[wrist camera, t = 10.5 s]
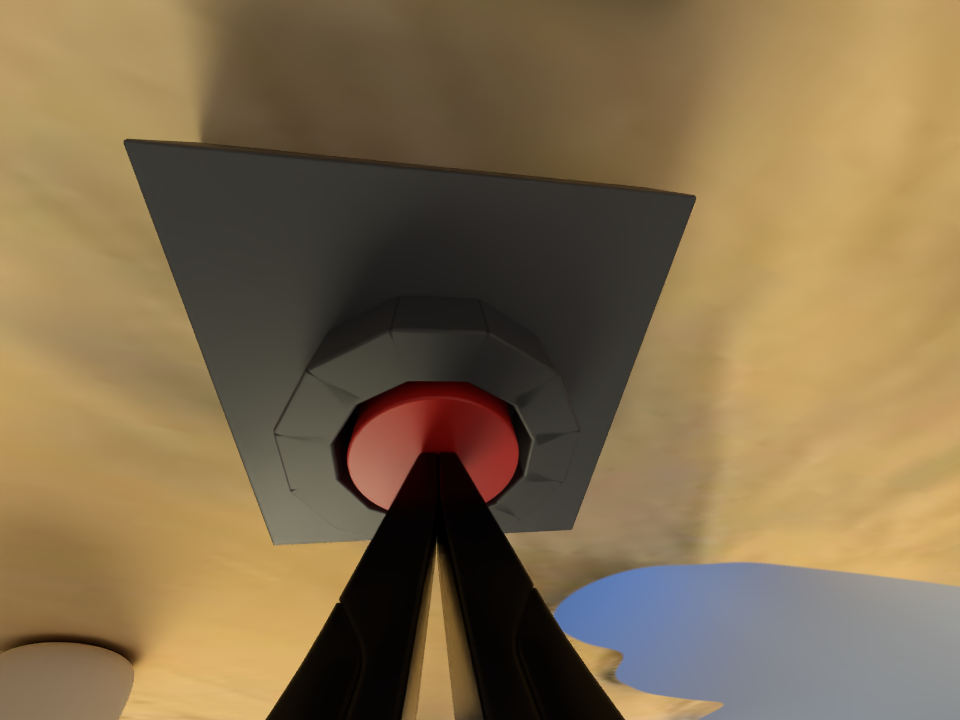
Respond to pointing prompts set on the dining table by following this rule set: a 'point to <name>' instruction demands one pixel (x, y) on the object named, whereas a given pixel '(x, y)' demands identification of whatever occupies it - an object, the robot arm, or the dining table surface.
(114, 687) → the cup
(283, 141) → the dining table surface
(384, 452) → the power button
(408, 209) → the switch block
